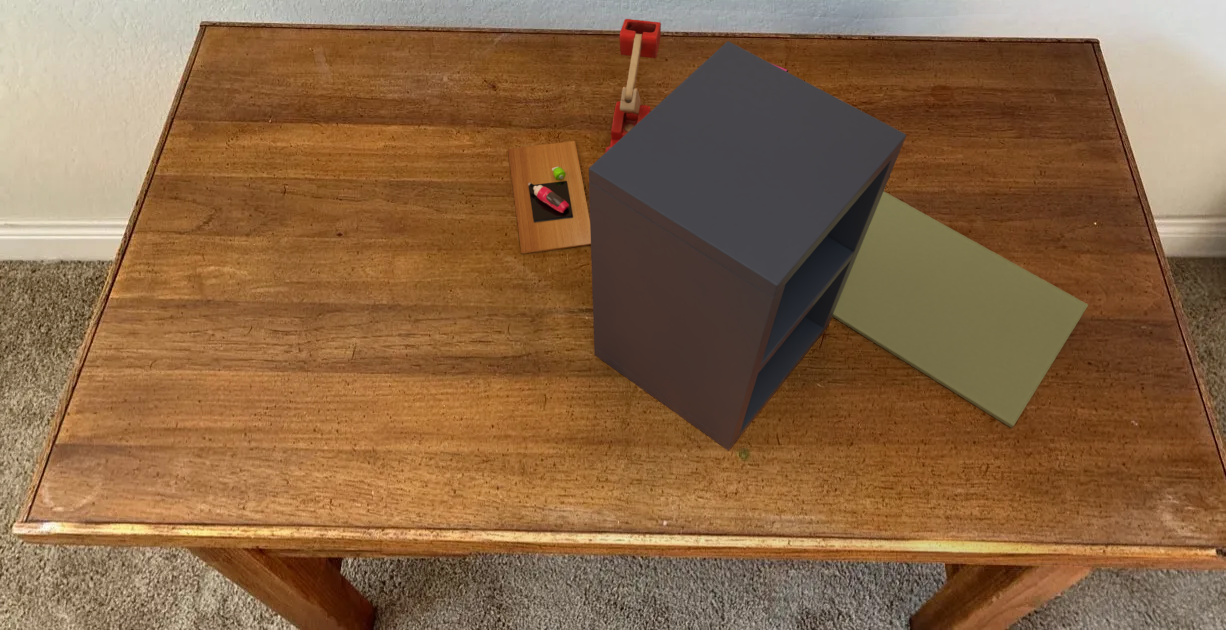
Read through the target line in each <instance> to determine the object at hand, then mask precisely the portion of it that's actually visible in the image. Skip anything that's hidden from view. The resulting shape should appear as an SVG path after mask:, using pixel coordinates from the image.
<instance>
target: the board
mask: <svg viewBox="0 0 1226 630" xmlns="http://www.w3.org/2000/svg"><path fill="white" fill-rule="evenodd" d="M507 155H508V161H509V169H510V176H511V184H512V192H513V199H514V207H515V214H516V222H517V229H518V236H519V237H518V238H519V245H520V246H519V247H520V252H521V255H525V254H533V253H534V254H535V253H539V252H549V251H556V250H563V249H569V248H570V249H571V248H572V249H573V248H579V247H587V246H591V231H590V212H589V208H588V207H589V206H588V203H587V197H586V192H585V191H586V190H585V186H584V180H583V176H582V171H581V166H580V165H581V164H580V161H579V155H578V149H577V143H576V140H570V141H561V142H553V143H545V144H536V145H528V146H521V147H520V146H519V147H512V148H507Z"/></svg>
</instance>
